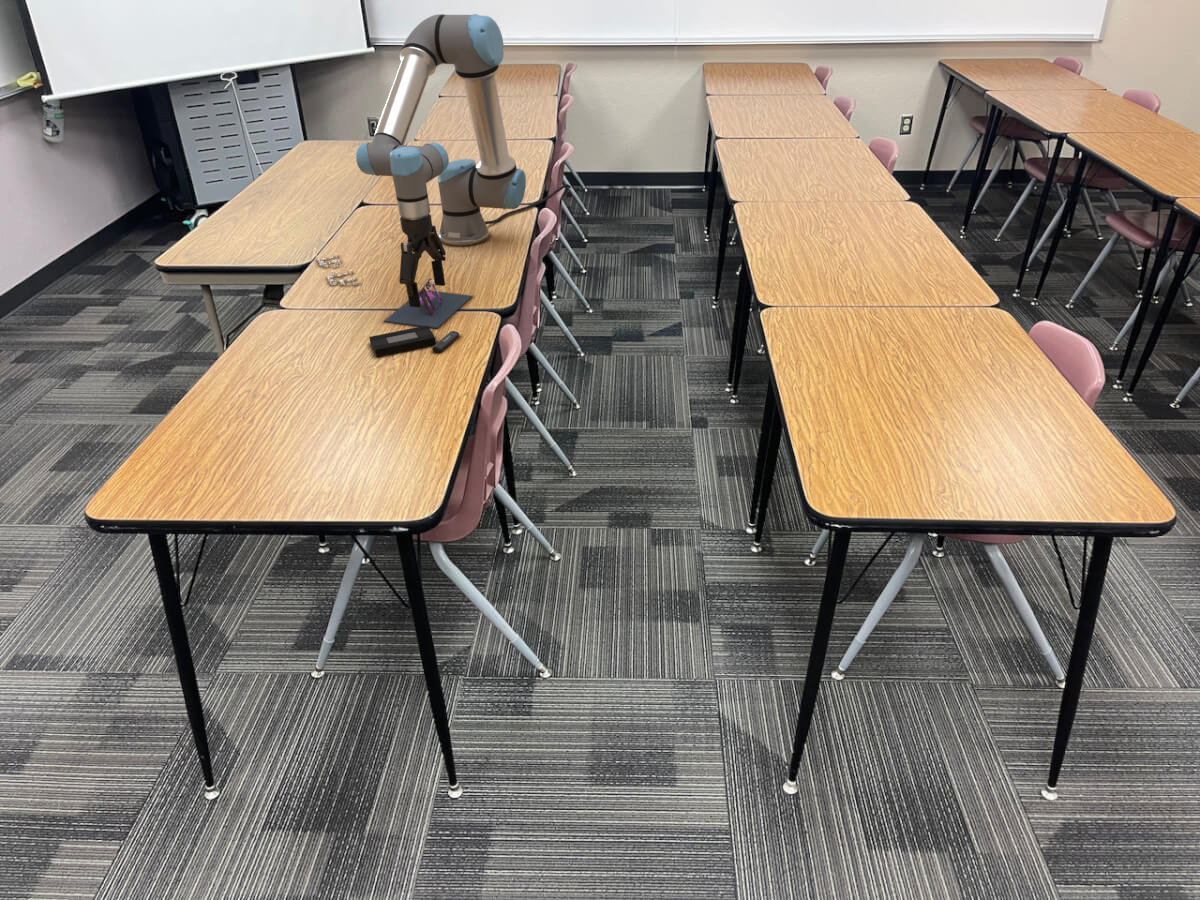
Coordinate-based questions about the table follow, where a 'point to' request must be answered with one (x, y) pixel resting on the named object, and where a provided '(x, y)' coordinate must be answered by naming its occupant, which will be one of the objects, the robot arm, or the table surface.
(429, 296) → the game card
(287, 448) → the table surface
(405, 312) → the mat
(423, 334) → the vhs tape
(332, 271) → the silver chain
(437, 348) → the usb stick
